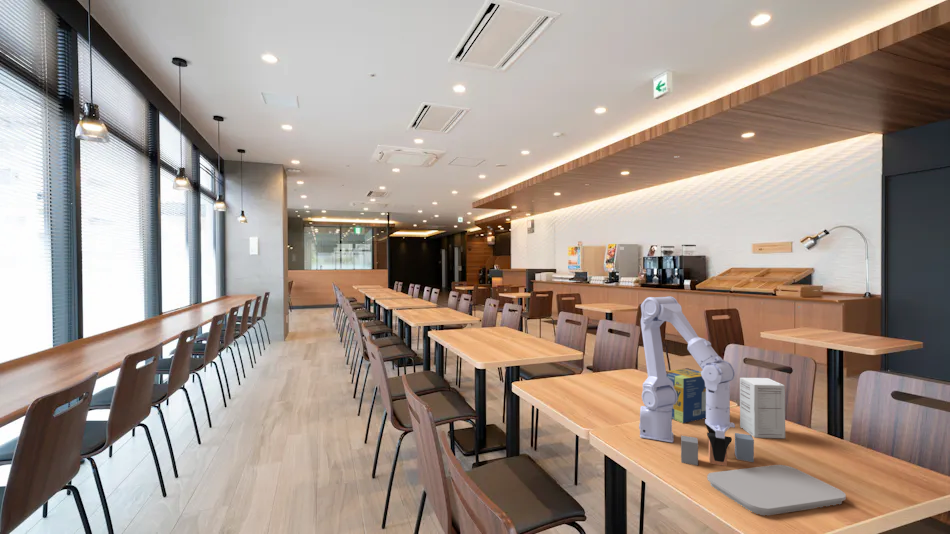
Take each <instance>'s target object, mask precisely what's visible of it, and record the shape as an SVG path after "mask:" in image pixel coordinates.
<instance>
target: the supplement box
mask: <svg viewBox="0 0 950 534" xmlns="http://www.w3.org/2000/svg"><path fill="white" fill-rule="evenodd" d="M739 427H740V428H741V429H742V428H743V429H742V430H744V431H745V432H746V433H748V435H752V438H756V439H757V438H762V439H786V386H785V384H782V383H780V382H777V380H773V379H771V378H769V377H739Z"/></svg>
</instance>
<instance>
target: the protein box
mask: <svg viewBox="0 0 950 534" xmlns="http://www.w3.org/2000/svg"><path fill="white" fill-rule="evenodd" d="M666 376H667V377H668V378H669V379H670V380H671V381H672V382H673V386H674V389H675V391H676V393H677V397H678V399H677V402H676V403H675V404H674V405H673V409H672V420H673V419H674V421H677V422H678V421H679V423H681V424H686V422H687V423H690V422H694V421H695V420H696V421H700V419H701V420H705V418H706V387H705V381H704V379H703V378H702V375H701V371H700V370H697V369H693V368H692V369H691V368H688V367H686V368H681V369H672V370H671V369H670V370H666ZM659 387H660V386H659ZM696 421H695V422H696Z"/></svg>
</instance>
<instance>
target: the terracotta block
mask: <svg viewBox="0 0 950 534" xmlns="http://www.w3.org/2000/svg"><path fill="white" fill-rule="evenodd" d="M727 453H728V450H727V451H726V455H725V459H724V462H719V461H715V460H714V456H713V450H712V445H711V442H710V440H709V439H708V461H709V464H712V465H717V466H723V467H727V466H728V465H727V464H728V459H727V458H728V457H727V456H728V455H727Z"/></svg>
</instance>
